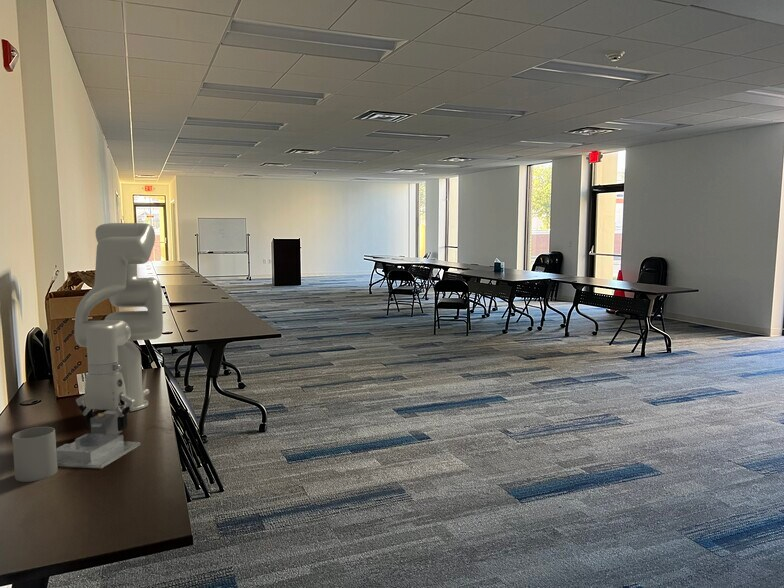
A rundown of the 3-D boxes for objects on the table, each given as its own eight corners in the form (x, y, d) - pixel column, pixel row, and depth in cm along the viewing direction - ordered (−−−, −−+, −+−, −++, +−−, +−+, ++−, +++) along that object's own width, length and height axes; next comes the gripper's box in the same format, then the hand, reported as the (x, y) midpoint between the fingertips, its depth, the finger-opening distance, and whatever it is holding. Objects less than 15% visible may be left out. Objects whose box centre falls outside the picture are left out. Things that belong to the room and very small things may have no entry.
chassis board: (79, 442, 155) (78, 430, 155) (140, 445, 152) (139, 433, 152) (34, 464, 139) (33, 452, 139) (101, 468, 137) (100, 455, 136)
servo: (110, 430, 165) (109, 406, 165) (124, 430, 165) (123, 406, 164) (88, 440, 156) (87, 415, 156) (103, 441, 156) (102, 416, 155)
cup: (65, 469, 136) (63, 428, 135) (34, 483, 129) (31, 440, 128) (39, 465, 139) (36, 425, 138) (6, 478, 131) (3, 436, 130)
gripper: (140, 366, 161) (143, 425, 163) (84, 365, 164) (87, 423, 165) (123, 372, 154) (126, 434, 155) (65, 371, 156) (69, 432, 158)
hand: (106, 428), depth 160 cm, fingers open, 9 cm apart
